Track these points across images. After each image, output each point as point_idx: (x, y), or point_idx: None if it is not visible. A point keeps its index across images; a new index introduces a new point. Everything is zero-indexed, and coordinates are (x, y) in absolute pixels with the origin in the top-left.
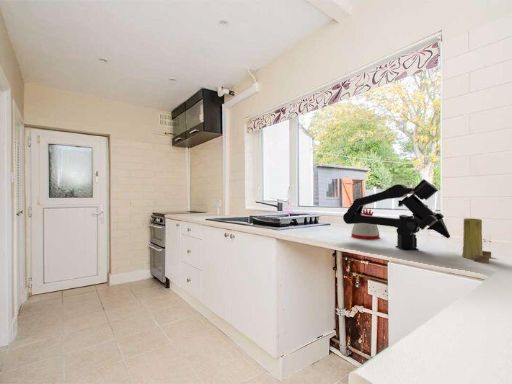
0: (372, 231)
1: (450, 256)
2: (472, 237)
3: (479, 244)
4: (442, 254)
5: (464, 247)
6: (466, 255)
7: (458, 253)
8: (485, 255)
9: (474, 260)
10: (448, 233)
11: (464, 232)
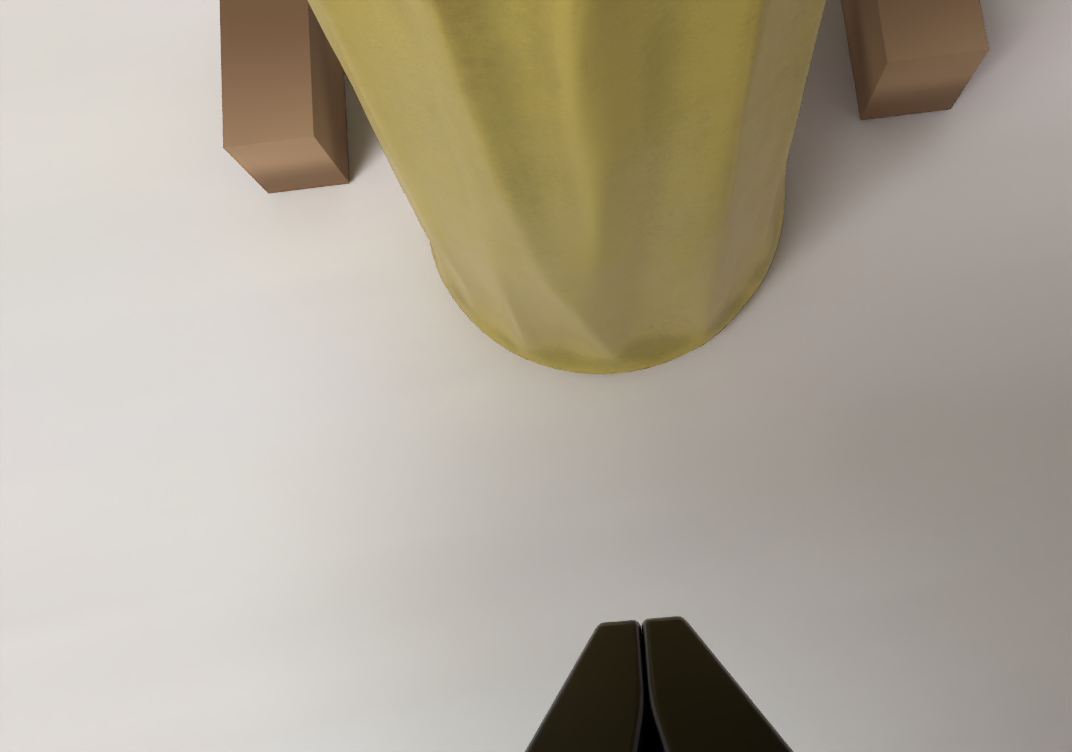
0: None
1: (856, 543)
2: None
3: None
4: None
5: (735, 242)
6: (770, 249)
7: (340, 504)
8: None
9: (954, 93)
10: (677, 687)
11: (764, 29)
